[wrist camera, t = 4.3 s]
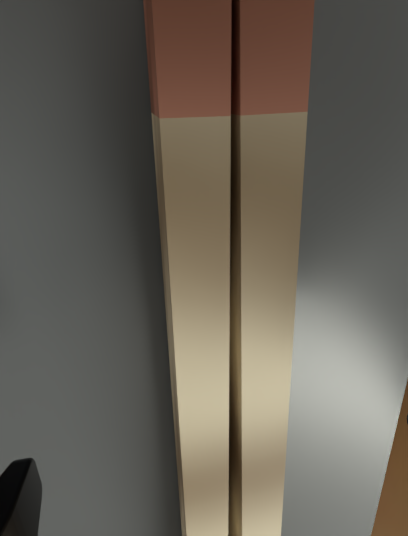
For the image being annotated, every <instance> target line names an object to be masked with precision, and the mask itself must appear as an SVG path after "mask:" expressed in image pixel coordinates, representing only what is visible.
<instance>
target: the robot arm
mask: <svg viewBox="0 0 408 536" xmlns="http://www.w3.org/2000/svg"><path fill="white" fill-rule="evenodd" d="M407 423H408V415H407ZM41 501H42V482H41V479H40V475H39V472H38V469H37V465H36V462H35V460H34V459H33V458H24V459H18V460H14V461H13V462H11V463H10V464H9V465H8V467H7V468H6V469H5V470H4V472H3V473H2V474H1V475H0V536H38V529H39V520H40V510H41Z"/></svg>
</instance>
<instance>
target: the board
mask: <svg viewBox="0 0 408 536" xmlns="http://www.w3.org/2000/svg"><path fill="white" fill-rule="evenodd" d="M407 379H408V0H315V3H314V18H313V34H312V50H311V66H310V82H309V98H308V114H307V129H306V145H305V161H304V177H303V193H302V209H301V225H300V241H299V256H298V272H297V288H296V304H295V320H294V336H293V352H292V368H291V383H290V399H289V415H288V431H287V447H286V463H285V479H284V495H283V510H282V526H281V536H371V533H372V528H373V524H374V520H375V516H376V511H377V507H378V503H379V499H380V494H381V490H382V486H383V481H384V477H385V473H386V469H387V464H388V460H389V456H390V452H391V447H392V443H393V439H394V435H395V430H396V426H397V422H398V417H399V413H400V409H401V405H402V400H403V396H404V392H405V388H406V383H407ZM24 458H33V459H34V460H35V462H36V465H37V469H38V472H39V475H40V479H41V482H42V501H41V510H40V520H39V529H38V536H182V529H181V515H180V501H179V487H178V474H177V460H176V446H175V432H174V418H173V405H172V391H171V377H170V363H169V350H168V336H167V322H166V308H165V294H164V281H163V267H162V253H161V239H160V225H159V212H158V198H157V184H156V170H155V156H154V143H153V129H152V115H151V101H150V88H149V74H148V60H147V46H146V32H145V19H144V5H143V0H0V475H1V474H2V473H3V472H4V470H5V469H6V468H7V467H8V465H9V464H10V463H11V462H13V461H14V460H18V459H24Z"/></svg>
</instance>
